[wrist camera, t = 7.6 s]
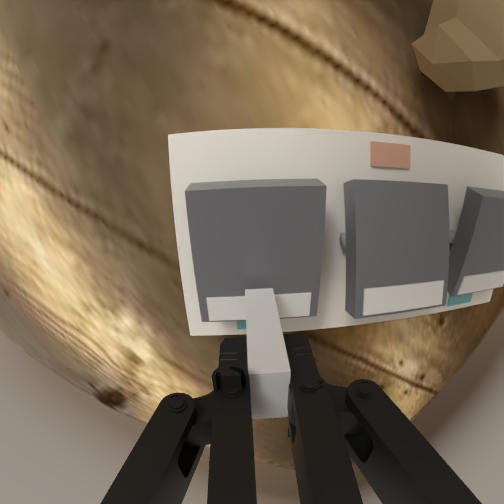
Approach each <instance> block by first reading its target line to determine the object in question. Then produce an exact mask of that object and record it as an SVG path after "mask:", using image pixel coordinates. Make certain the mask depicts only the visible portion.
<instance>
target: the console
mask: <svg viewBox="0 0 504 504" xmlns="http://www.w3.org/2000/svg"><path fill="white" fill-rule="evenodd" d="M168 143H169V160H170V175H171V188H172V199H173V210H174V220H175V229H176V238H177V247H178V255H179V263H180V271H181V278H182V285H183V292H184V299H185V305H186V311H187V318H188V324H189V330H190V335H191V336H197V335H237V334H247V332H246V321H224V322H202V320H201V314H200V307H199V301H198V294H197V288H196V281H195V274H194V267H193V259H192V252H191V244H190V235H189V227H188V218H187V209H186V200H185V190H186V189H187V187H188V186H189V185H190V183H201V182H217V181H236V180H261V179H319V180H320V181H321V182H322V183H324V184H325V185H326V186H327V188H326V209H325V227H324V242H323V255H322V267H321V278H320V288H319V298H318V308H317V316H311V317H299V318H285V319H280V323H281V328H282V332H290V331H303V330H314V329H325V328H335V327H344V326H352V325H361V324H369V323H376V322H383V321H390V320H397V319H403V318H409V317H416V316H421V315H427V314H433V313H438V312H443V311H449V310H454V309H458V308H463V307H468V306H473V305H477V304H481V303H486V302H490V299H491V295H492V292H493V289H490V290H485V291H480V292H474V293H469V294H464V295H458V296H452V297H451V295H450V294H449V293H448V292H447V297H446V306H441V307H435V308H429V309H423V310H417V311H411V312H404V313H397V314H390V315H383V316H375V317H367V318H359V319H354V318H353V317H352V316H351V315H350V314H348V313H347V312H346V311H345V294H346V233H345V204H344V186H343V183H345V182H348V181H350V180H353V179H361V180H388V181H407V182H422V183H435V184H447V185H448V199H449V256H450V252H451V249H452V246H453V242H454V239H455V235H456V231H457V228H458V224H459V220H460V216H461V212H462V207H463V203H464V198H465V194H466V189H467V186H468V187H477V188H485V189H493V190H501V191H504V155H501V154H497V153H493V152H489V151H485V150H480V149H476V148H472V147H467V146H462V145H457V144H452V143H447V142H441V141H435V140H429V139H423V138H416V137H409V136H401V135H393V134H384V133H375V132H364V131H351V130H334V129H309V128H257V129H231V130H215V131H201V132H190V133H180V134H171V135H168Z"/></svg>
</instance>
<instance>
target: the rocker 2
mask: <svg viewBox="0 0 504 504" xmlns="http://www.w3.org/2000/svg"><path fill="white" fill-rule="evenodd" d="M500 287H504V191H501V190H493V189H485V188H477V187H468V186H467V189H466V194H465V198H464V203H463V207H462V212H461V216H460V220H459V224H458V228H457V231H456V235H455V239H454V242H453V246H452V249H451V252H450V256H449V271H448V286H447V292H448V293H449V294H450V295H451V297H452V296H458V295H464V294H469V293H474V292H480V291H485V290H490V289H495V288H500Z"/></svg>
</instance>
